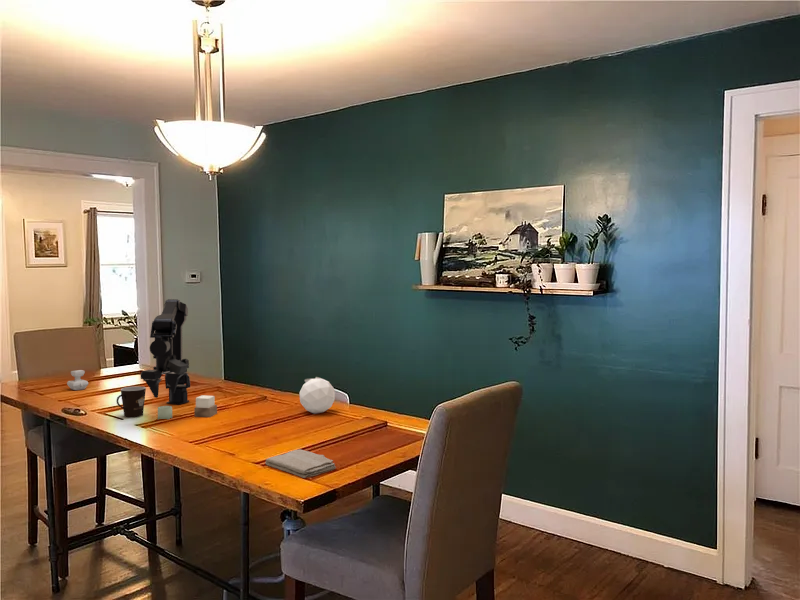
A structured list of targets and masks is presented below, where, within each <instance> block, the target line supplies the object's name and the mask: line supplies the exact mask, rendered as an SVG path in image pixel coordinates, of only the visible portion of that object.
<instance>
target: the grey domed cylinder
mask: <svg viewBox="0 0 800 600" xmlns="http://www.w3.org/2000/svg"><path fill="white" fill-rule="evenodd" d="M170 418H171V419H173V406H172V405H161V406H158V407H157V420H159V419H167V420H171V419H170Z"/></svg>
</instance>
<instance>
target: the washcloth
mask: <svg viewBox="0 0 800 600" xmlns="http://www.w3.org/2000/svg"><path fill="white" fill-rule="evenodd" d="M264 463H265V465H266V466H269V467H271V468H274V469H277V470H281V471H284V472H286V473H290V474H292V475H294V476H297V477H300V478H303V479H306V478H309V477H314V476H318V475H321V474H323V473H327V472H331V471H334V470H336V468H337V466H336V463H335V462H334V460H333V459H330V458H327V457H325V455H324V454H317V453H314V452H312V451H309V450H304V449H294V450H292V451H288V452H286V453H283V454H278V455H275V456H271V457H268V458H266V459H265V462H264Z"/></svg>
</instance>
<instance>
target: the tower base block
mask: <svg viewBox="0 0 800 600" xmlns="http://www.w3.org/2000/svg"><path fill="white" fill-rule="evenodd" d="M217 414H218V405H217V404H215V405H214V406H212V407H210V408H196V406H195V407H194V417H195V418H196V417H197V418H212V417H213V416H215V415H217Z"/></svg>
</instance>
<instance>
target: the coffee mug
mask: <svg viewBox="0 0 800 600" xmlns="http://www.w3.org/2000/svg"><path fill="white" fill-rule="evenodd" d="M146 390H147V387H145V386H125V387H122V388H121V389H120V395H118V396H117V398H116V404H117V406H118V407H120V408H121V409H122V410H123V415H124V417H125V418H139V417H143V415H144V410H145V409H144V408H145V398H146ZM120 398H121V402H122V405H121V404H120V403H119V399H120Z"/></svg>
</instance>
